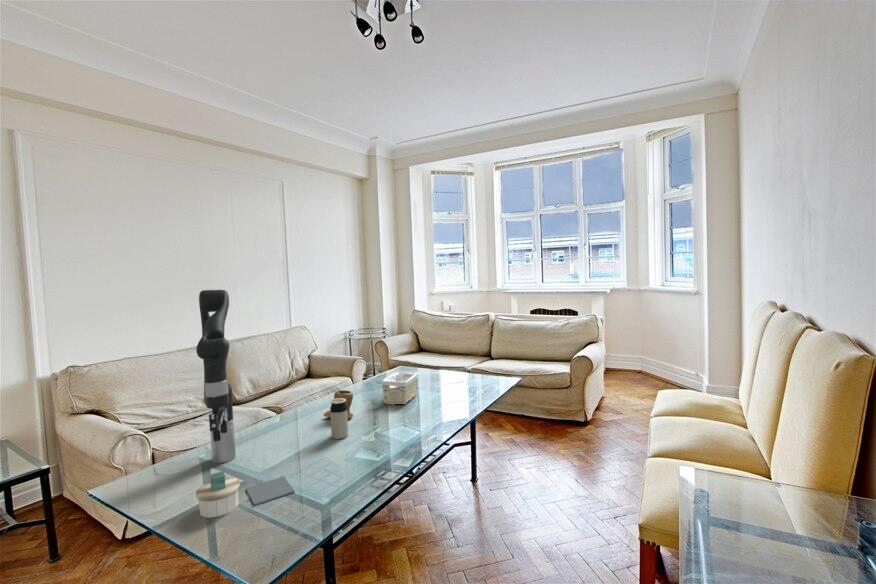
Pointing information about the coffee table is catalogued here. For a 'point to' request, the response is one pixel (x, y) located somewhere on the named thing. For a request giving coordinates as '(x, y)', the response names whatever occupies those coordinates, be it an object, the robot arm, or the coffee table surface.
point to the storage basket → (399, 387)
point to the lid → (217, 487)
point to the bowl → (219, 506)
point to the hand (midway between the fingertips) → (220, 436)
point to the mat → (269, 490)
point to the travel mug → (339, 418)
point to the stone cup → (348, 396)
